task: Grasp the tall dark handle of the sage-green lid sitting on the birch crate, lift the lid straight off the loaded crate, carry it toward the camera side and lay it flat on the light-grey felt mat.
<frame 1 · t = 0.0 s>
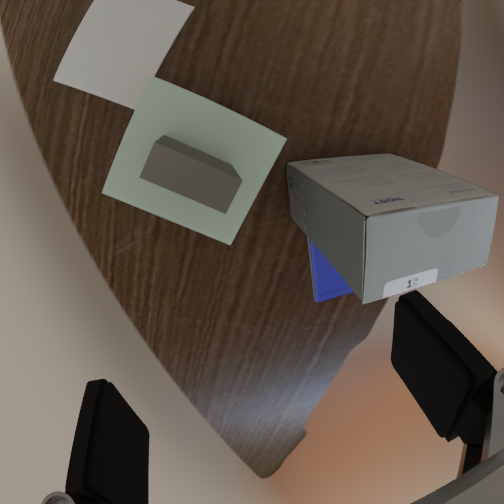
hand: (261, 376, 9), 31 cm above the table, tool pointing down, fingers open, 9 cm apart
lid: (192, 159, 30), point 6 cm above the table, touching crate
hard drive: (334, 254, 46), on the table
mat: (120, 41, 28), on the table
hard drive box: (342, 183, 41), on the table
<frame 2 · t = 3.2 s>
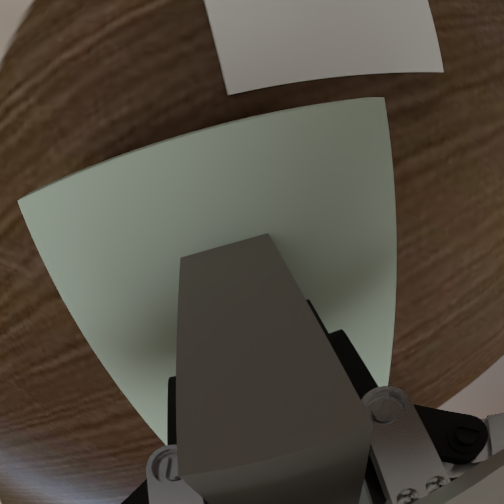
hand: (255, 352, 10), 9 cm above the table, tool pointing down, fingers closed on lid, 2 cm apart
lid: (241, 300, 13), point 6 cm above the table, touching crate, gripper
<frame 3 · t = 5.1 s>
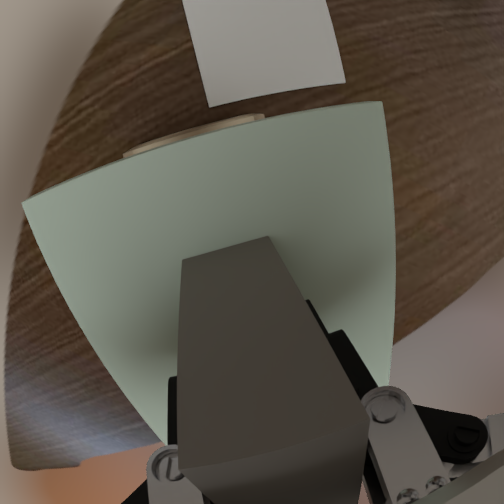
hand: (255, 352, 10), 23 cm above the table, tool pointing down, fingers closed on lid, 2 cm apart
crate: (209, 190, 31), on the table
lid: (242, 302, 13), point 20 cm above the table, touching gripper
mat: (266, 36, 26), on the table
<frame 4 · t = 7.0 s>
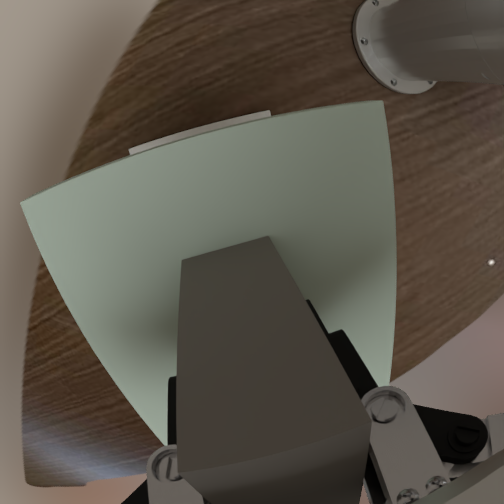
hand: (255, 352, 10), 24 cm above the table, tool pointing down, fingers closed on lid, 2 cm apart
lid: (242, 303, 13), point 21 cm above the table, touching gripper
mat: (213, 184, 32), on the table
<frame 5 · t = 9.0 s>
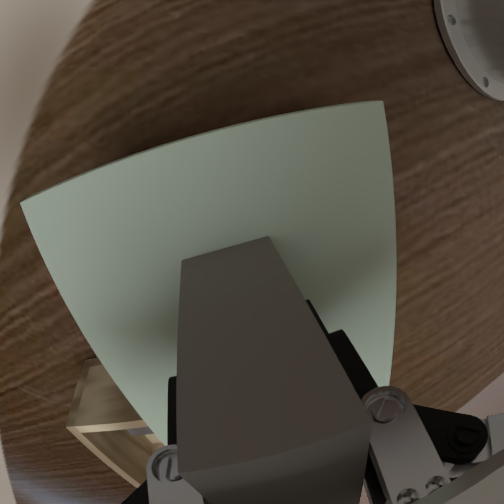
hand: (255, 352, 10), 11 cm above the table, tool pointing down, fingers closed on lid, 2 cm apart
crate: (172, 398, 26), on the table
lid: (242, 303, 13), point 8 cm above the table, touching gripper
when the fingers open (5 cm above the table, at t = 10.8 s): lid drops 2 cm, resting on mat.
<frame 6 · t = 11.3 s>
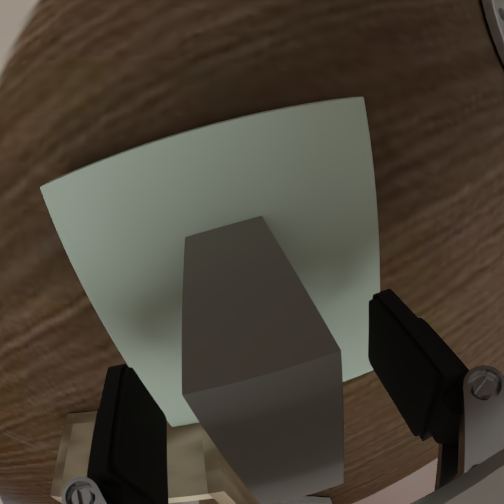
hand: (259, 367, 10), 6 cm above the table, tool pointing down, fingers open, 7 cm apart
crate: (170, 451, 21), on the table
lid: (239, 280, 15), point 1 cm above the table, touching mat
hard drive box: (272, 503, 30), on the table
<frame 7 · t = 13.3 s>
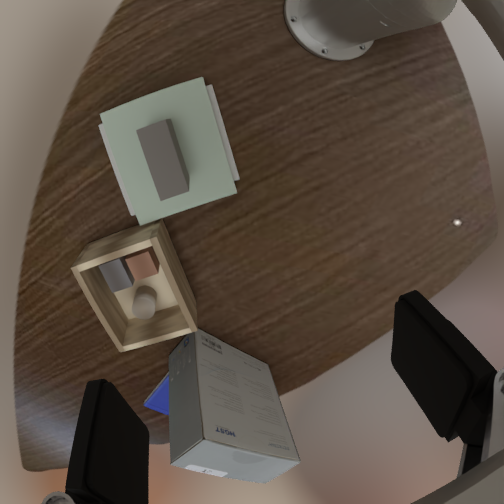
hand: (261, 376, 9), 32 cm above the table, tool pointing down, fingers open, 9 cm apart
crate: (141, 273, 41), on the table
lid: (169, 150, 35), point 1 cm above the table, touching mat
hard drive: (179, 389, 52), on the table
mat: (168, 150, 36), on the table
hard drive box: (220, 360, 50), on the table
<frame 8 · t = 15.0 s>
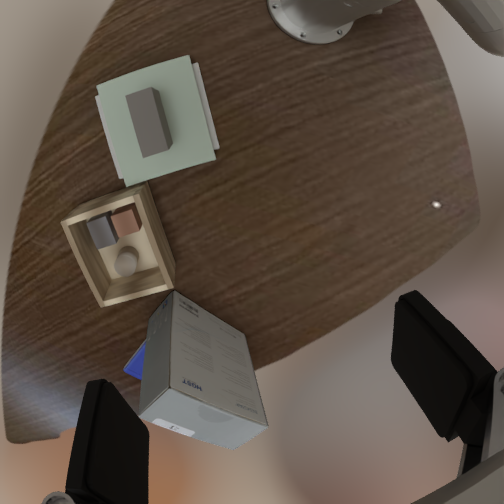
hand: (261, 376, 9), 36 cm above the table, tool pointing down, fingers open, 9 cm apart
crate: (126, 234, 44), on the table
lid: (156, 120, 37), point 1 cm above the table, touching mat
hard drive: (158, 355, 55), on the table
mat: (156, 120, 38), on the table
hard drive box: (198, 326, 53), on the table
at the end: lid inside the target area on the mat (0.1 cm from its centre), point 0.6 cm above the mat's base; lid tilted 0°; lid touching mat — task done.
